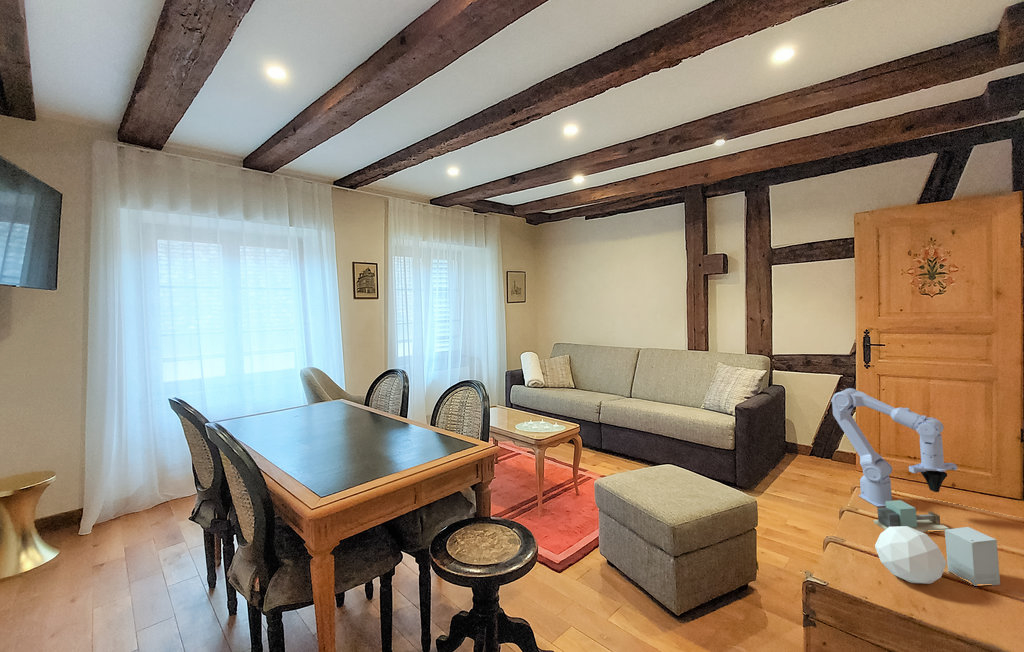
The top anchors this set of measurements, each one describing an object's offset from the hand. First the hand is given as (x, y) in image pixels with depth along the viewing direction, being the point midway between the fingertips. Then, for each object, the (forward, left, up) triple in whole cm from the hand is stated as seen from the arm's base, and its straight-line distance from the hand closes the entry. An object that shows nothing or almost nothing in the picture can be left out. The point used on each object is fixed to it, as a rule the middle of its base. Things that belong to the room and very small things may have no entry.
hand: (934, 490), depth 148 cm
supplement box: (+32, -19, -10) cm, 38 cm away
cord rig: (+5, -13, -9) cm, 17 cm away
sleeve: (+5, -16, -8) cm, 18 cm away
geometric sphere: (+30, -34, -10) cm, 47 cm away
